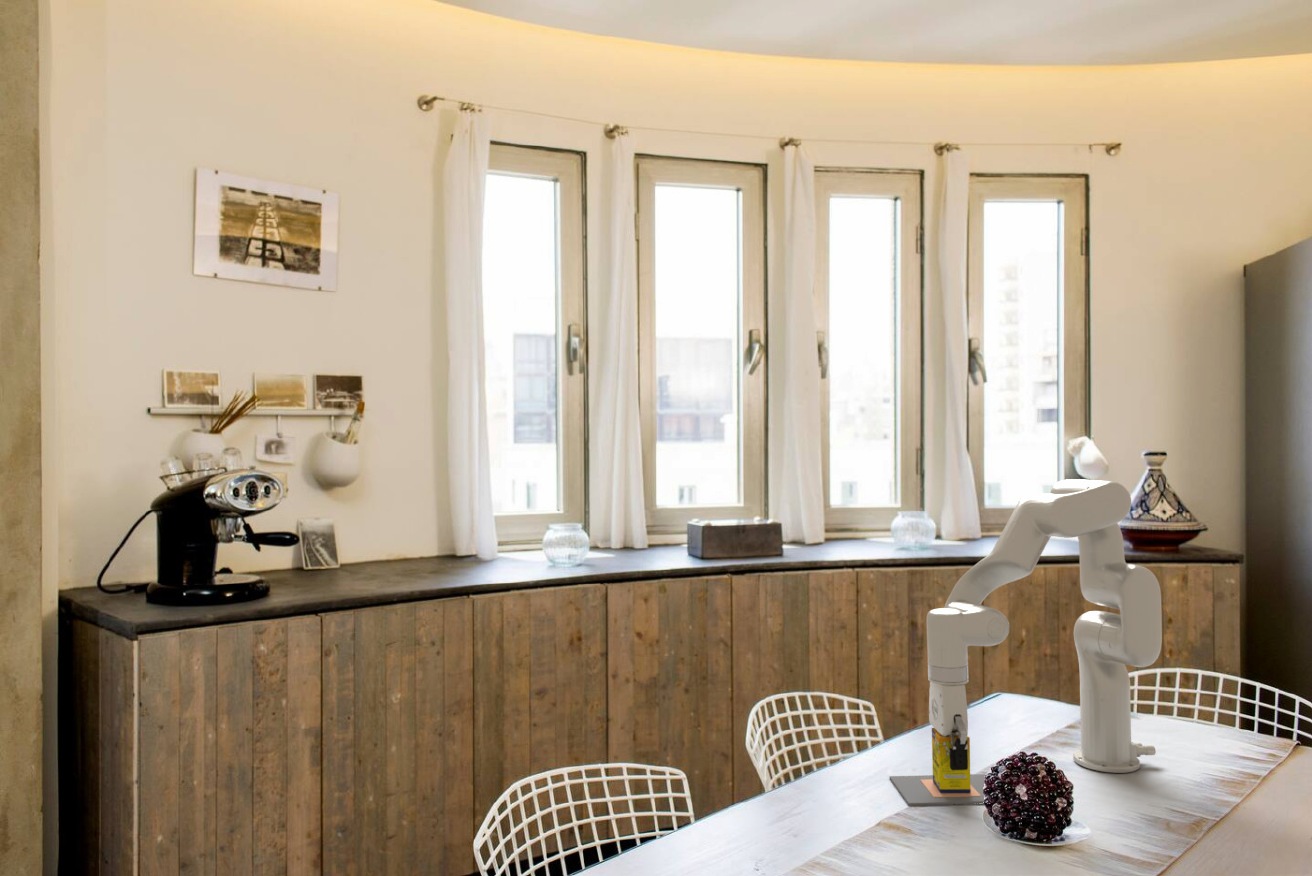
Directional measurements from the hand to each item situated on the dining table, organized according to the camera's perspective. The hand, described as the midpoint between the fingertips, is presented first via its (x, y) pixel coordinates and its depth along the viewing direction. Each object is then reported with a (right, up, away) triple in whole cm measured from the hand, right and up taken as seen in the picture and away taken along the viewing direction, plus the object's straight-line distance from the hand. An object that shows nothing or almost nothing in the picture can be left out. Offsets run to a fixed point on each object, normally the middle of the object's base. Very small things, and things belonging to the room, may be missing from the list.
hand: (950, 760), depth 183 cm
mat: (0, -6, 0) cm, 6 cm away
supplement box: (0, -5, 0) cm, 5 cm away
